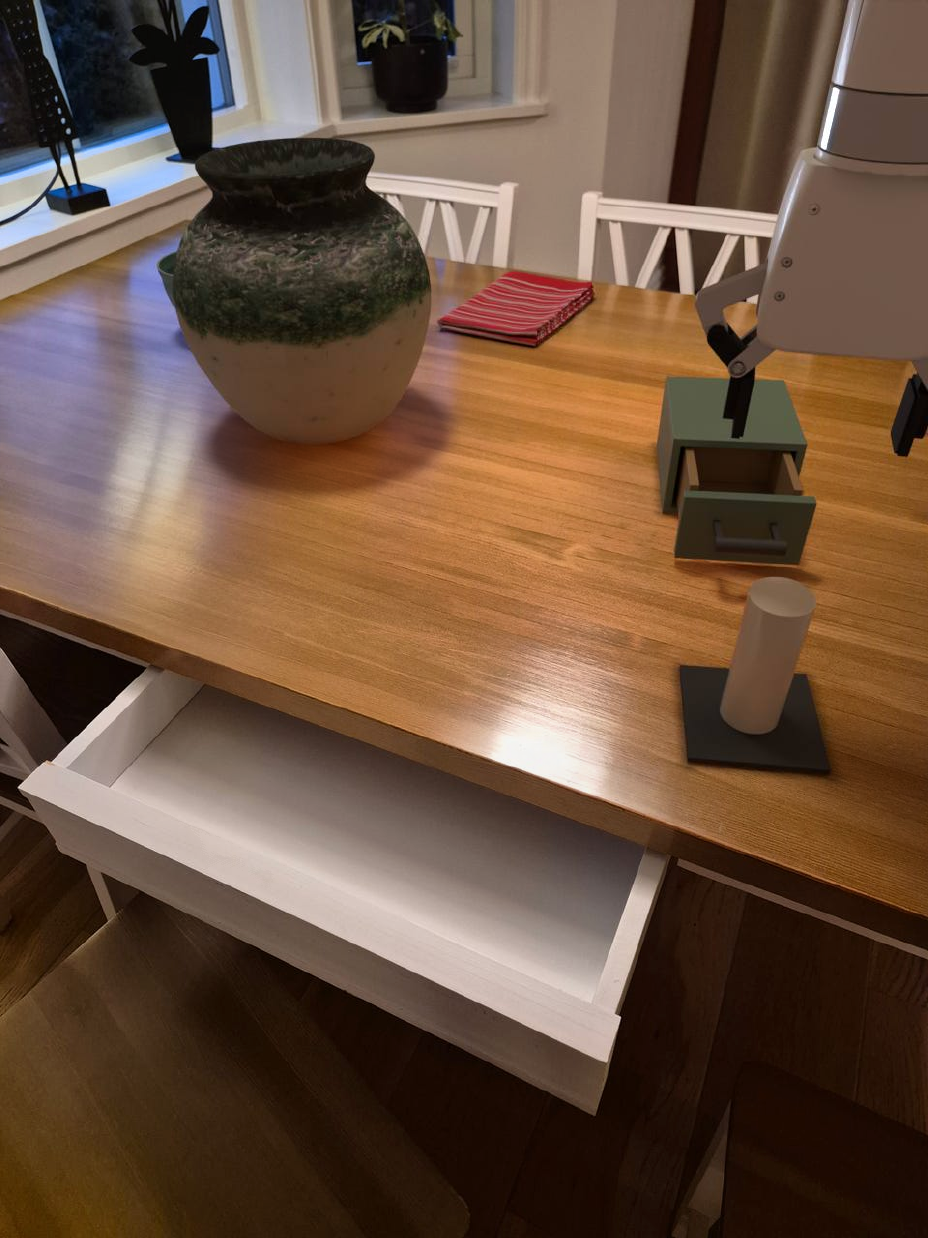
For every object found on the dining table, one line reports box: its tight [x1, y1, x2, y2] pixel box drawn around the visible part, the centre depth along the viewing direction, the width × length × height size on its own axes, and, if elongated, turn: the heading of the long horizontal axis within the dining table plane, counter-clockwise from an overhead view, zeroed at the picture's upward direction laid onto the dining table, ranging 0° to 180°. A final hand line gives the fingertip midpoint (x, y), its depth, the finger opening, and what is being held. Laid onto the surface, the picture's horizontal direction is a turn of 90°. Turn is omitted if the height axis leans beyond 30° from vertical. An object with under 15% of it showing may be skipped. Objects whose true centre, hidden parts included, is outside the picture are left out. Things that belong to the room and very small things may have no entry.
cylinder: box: [720, 576, 817, 734], centre depth 60 cm, size 4×4×12 cm
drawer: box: [673, 446, 818, 566], centre depth 80 cm, size 18×11×7 cm, turn 172°
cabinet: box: [656, 375, 809, 515], centre depth 89 cm, size 15×13×9 cm
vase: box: [173, 137, 432, 446], centre depth 94 cm, size 28×28×30 cm
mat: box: [678, 664, 832, 776], centre depth 64 cm, size 10×10×1 cm
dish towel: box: [436, 270, 596, 347], centre depth 131 cm, size 17×24×3 cm
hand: (816, 437), depth 53 cm, fingers open, 9 cm apart
